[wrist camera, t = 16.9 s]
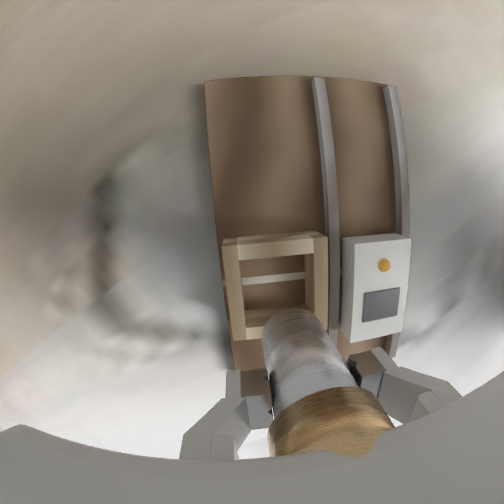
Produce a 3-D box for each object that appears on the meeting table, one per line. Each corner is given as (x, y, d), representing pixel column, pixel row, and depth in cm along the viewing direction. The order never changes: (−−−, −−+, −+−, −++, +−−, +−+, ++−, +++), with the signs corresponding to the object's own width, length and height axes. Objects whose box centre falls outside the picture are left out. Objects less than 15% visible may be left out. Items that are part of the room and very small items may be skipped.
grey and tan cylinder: (328, 297, 12) (430, 430, 4) (326, 359, 13) (390, 493, 5) (252, 306, 12) (274, 475, 4) (257, 369, 13) (277, 521, 5)
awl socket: (315, 230, 21) (327, 237, 18) (317, 312, 22) (327, 329, 19) (224, 238, 20) (221, 246, 18) (233, 322, 22) (233, 340, 19)
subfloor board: (384, 90, 19) (397, 82, 17) (386, 347, 25) (396, 360, 23) (206, 87, 19) (202, 76, 17) (236, 372, 25) (236, 388, 23)
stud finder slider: (395, 233, 20) (414, 239, 18) (388, 319, 22) (404, 334, 19) (342, 237, 20) (357, 245, 17) (340, 328, 22) (352, 346, 19)
